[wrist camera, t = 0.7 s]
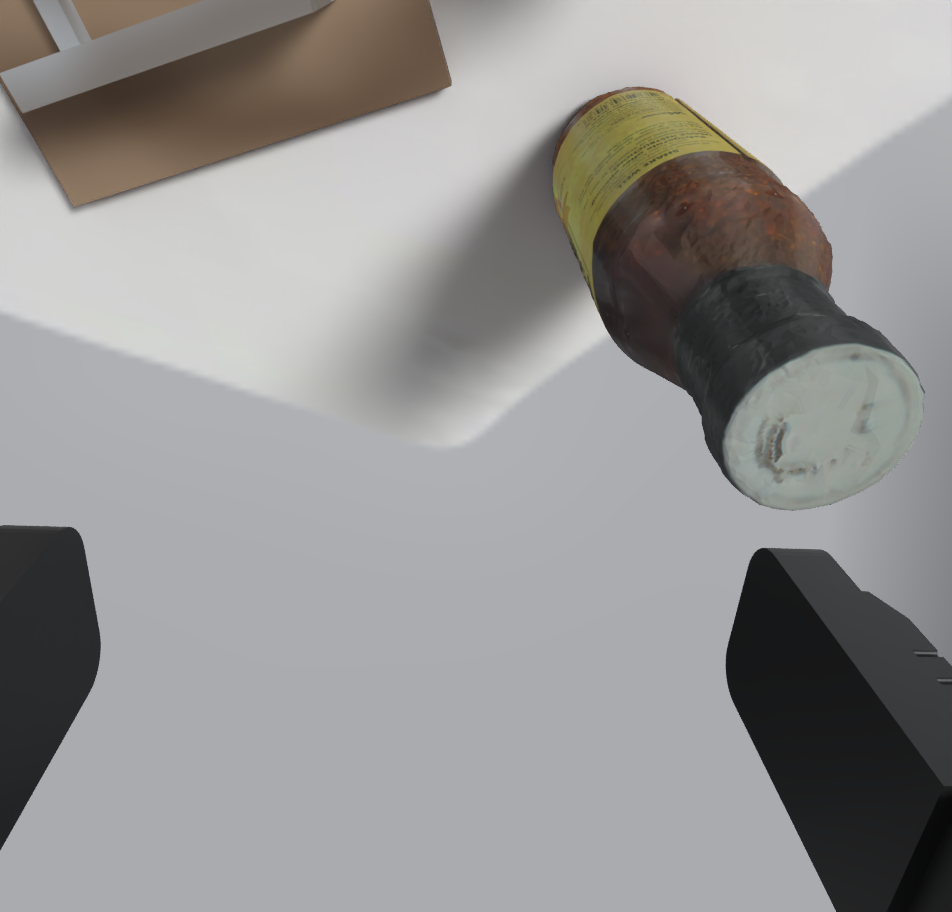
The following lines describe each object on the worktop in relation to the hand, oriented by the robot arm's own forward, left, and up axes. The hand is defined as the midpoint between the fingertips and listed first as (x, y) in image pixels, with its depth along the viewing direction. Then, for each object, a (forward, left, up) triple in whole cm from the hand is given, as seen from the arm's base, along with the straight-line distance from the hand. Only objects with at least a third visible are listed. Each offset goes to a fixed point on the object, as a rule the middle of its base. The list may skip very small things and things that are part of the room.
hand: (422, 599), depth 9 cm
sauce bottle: (+3, +6, -26) cm, 27 cm away
